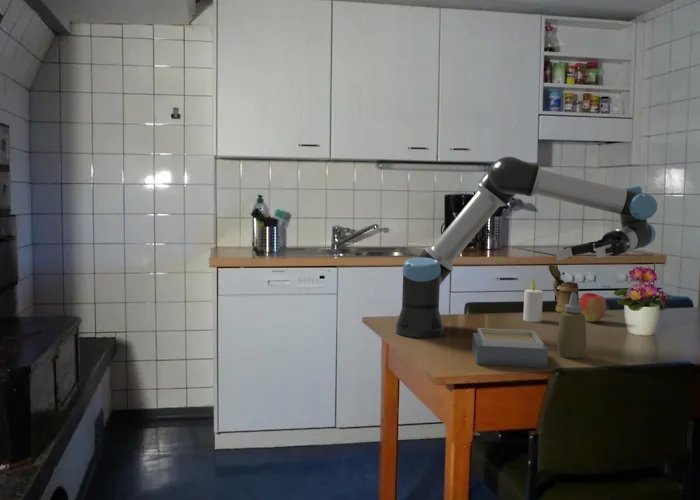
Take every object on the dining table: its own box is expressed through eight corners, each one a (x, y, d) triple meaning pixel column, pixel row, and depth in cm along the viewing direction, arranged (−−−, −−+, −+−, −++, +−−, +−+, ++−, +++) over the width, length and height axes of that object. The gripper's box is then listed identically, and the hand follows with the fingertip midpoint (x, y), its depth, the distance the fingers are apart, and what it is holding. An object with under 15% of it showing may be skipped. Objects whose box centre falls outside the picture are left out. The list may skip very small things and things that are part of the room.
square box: (476, 364, 179) (477, 340, 178) (472, 350, 195) (473, 327, 194) (546, 367, 177) (548, 343, 177) (536, 353, 193) (537, 330, 193)
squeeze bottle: (587, 361, 186) (591, 295, 184) (556, 358, 187) (560, 294, 185) (583, 354, 193) (587, 291, 192) (554, 352, 195) (557, 289, 193)
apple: (572, 320, 242) (573, 293, 241) (586, 318, 249) (587, 290, 248) (597, 325, 235) (599, 296, 234) (611, 322, 242) (612, 294, 241)
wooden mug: (553, 307, 270) (555, 262, 269) (584, 312, 260) (587, 265, 259) (540, 309, 264) (543, 263, 263) (572, 314, 254) (575, 266, 253)
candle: (544, 319, 243) (546, 278, 242) (538, 322, 238) (540, 280, 236) (526, 317, 246) (528, 276, 245) (520, 320, 241) (522, 278, 240)
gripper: (659, 251, 199) (617, 265, 187) (585, 256, 219) (544, 269, 207) (655, 226, 198) (613, 238, 186) (582, 233, 219) (539, 244, 207)
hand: (576, 254), depth 196 cm, fingers open, 13 cm apart
